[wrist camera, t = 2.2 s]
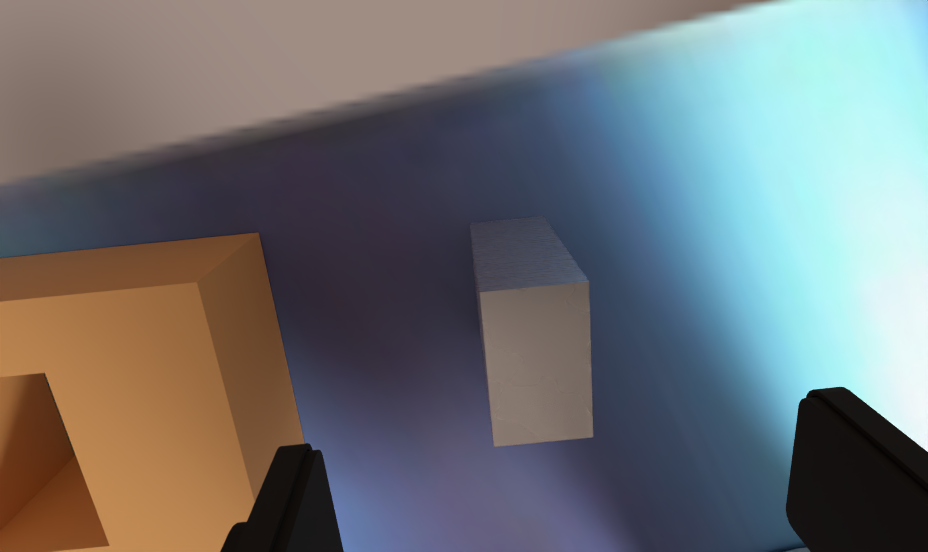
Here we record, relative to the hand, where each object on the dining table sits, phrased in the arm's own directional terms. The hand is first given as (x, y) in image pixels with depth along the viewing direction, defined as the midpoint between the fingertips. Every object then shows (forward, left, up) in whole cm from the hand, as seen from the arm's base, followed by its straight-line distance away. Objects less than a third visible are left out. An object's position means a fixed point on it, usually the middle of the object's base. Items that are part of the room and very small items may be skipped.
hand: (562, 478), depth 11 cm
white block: (0, +1, -13) cm, 13 cm away
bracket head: (+21, +5, -13) cm, 25 cm away
